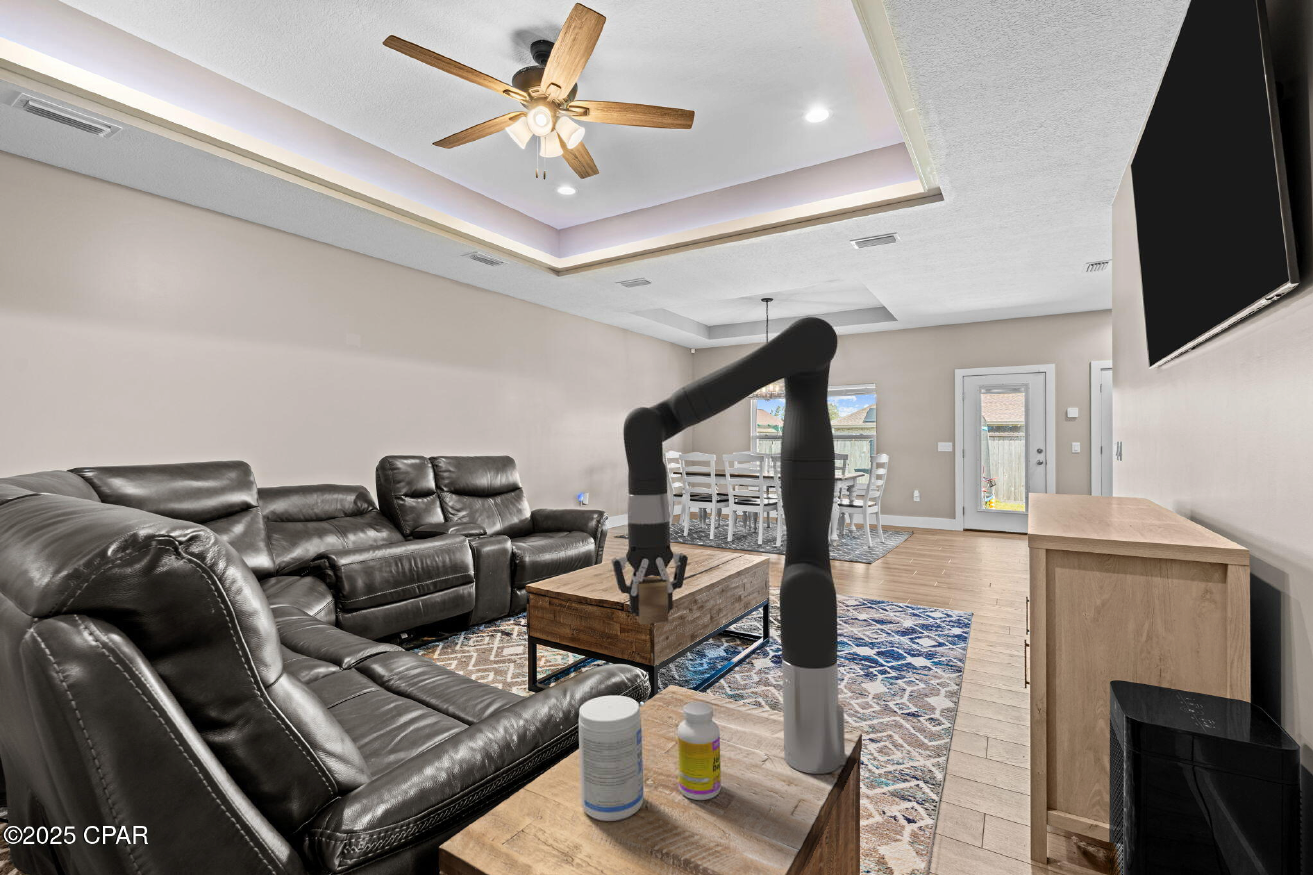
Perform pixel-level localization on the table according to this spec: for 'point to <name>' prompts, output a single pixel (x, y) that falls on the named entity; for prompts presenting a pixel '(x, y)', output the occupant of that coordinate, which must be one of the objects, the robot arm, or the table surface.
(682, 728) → the supplement bottle
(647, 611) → the walnut block
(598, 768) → the supplement tub
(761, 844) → the table surface
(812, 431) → the robot arm
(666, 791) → the table surface
